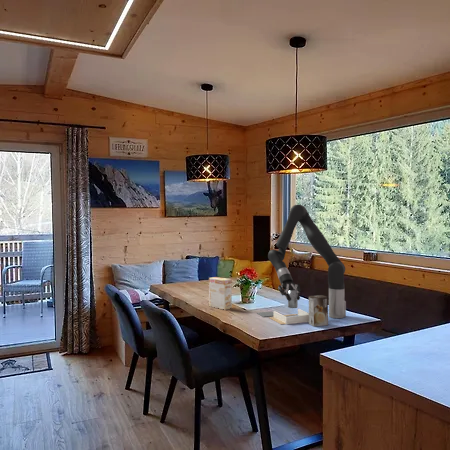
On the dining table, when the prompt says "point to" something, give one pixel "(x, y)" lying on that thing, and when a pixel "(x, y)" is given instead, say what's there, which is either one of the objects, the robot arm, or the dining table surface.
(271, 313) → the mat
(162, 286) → the dining table surface
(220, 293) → the coffeecake box
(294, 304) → the tin can
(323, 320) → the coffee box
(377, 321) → the dining table surface
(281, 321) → the white rectangular tray
